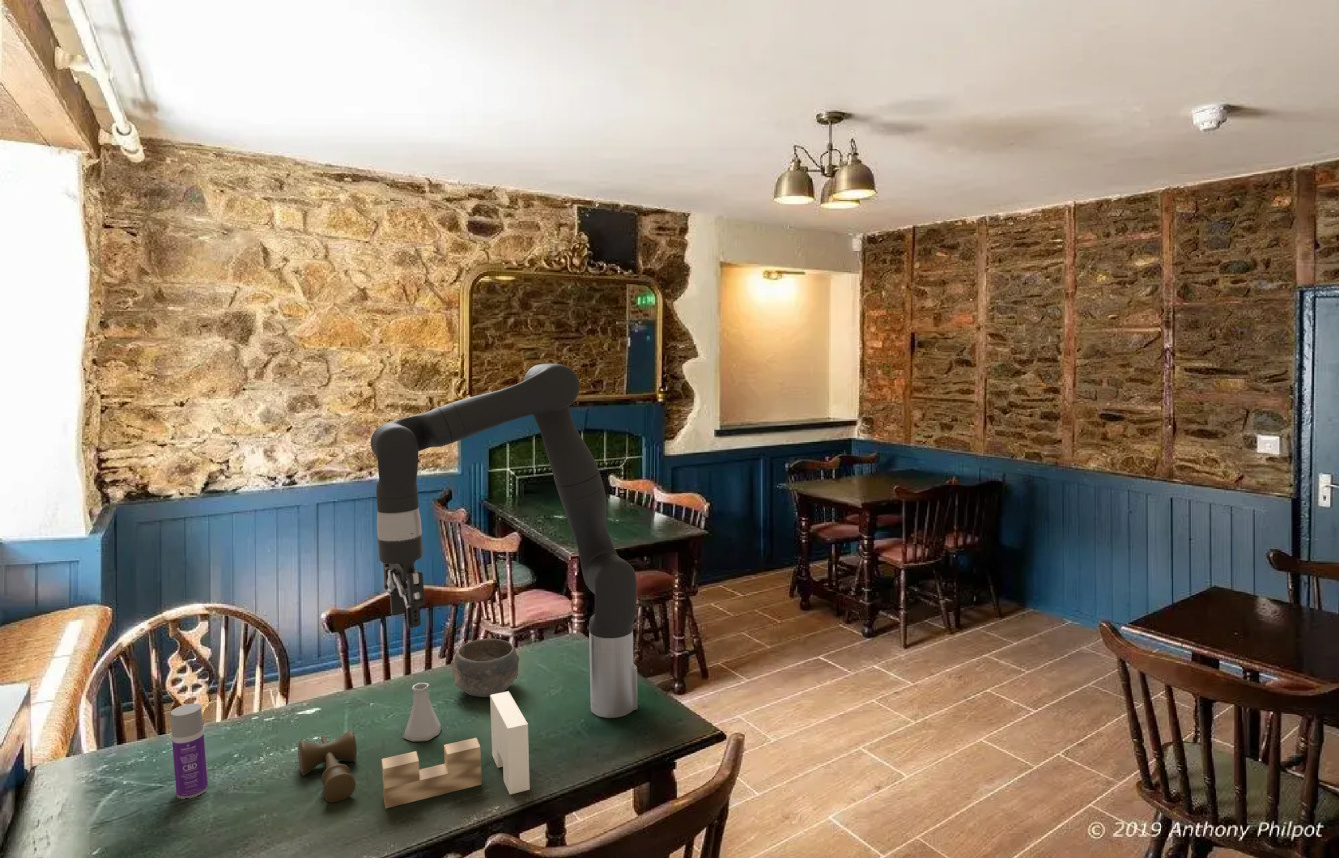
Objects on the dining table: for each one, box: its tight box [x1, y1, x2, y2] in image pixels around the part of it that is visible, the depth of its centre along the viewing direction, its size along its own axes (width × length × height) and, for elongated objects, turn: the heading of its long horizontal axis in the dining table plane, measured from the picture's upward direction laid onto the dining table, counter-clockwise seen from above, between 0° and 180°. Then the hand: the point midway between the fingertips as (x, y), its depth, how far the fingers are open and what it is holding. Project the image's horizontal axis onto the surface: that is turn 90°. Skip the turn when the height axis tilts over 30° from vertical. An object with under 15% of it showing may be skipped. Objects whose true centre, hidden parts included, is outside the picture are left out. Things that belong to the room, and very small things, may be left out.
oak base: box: [381, 737, 482, 809], centre depth 131 cm, size 16×4×7 cm, turn 115°
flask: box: [402, 682, 443, 743], centre depth 150 cm, size 7×7×10 cm
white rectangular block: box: [489, 690, 531, 795], centre depth 136 cm, size 14×4×12 cm, turn 26°
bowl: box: [450, 638, 520, 698], centre depth 169 cm, size 14×15×10 cm
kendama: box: [297, 730, 358, 804], centre depth 136 cm, size 6×10×20 cm
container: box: [170, 703, 209, 800], centre depth 131 cm, size 5×5×15 cm
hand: (405, 620), depth 138 cm, fingers open, 8 cm apart
